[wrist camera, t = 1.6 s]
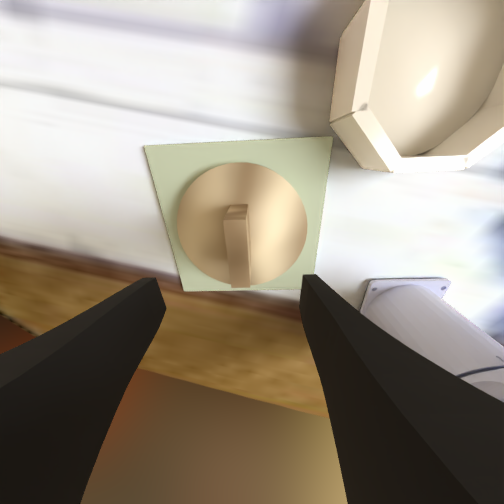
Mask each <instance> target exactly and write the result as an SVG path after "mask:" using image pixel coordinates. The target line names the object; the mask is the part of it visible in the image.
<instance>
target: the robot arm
mask: <svg viewBox="0 0 504 504" xmlns="http://www.w3.org/2000/svg"><path fill="white" fill-rule="evenodd" d="M450 284H451V281H449V280H448V279H445V278H441V279H387V280H372V281H371V282H370V283H369V285H368V288H367V291H366V294H365V298H364V301H363V304H362V307H361V310H360V312H359V311H357V310H356V309H355V308H354V307H353V306H351V305H350V304H349V303H348V302H347V301H345V300H344V299H343V298H342V297H341V296H340V295H338V294H337V293H336V292H335V291H334V290H333V289H332V288H331V287H329V286H328V285H327V284H326V283H325V282H324V281H323V280H322V279H321V278H319V277H318V276H317V275H316V274H303V277H302V286H301V295H300V304H299V308H300V313H301V318H302V323H303V327H304V330H305V333H306V337H307V340H308V343H309V346H310V349H311V352H312V355H313V358H314V361H315V364H316V367H317V370H318V373H319V377H320V380H321V384H322V387H323V391H324V395H325V400H326V404H327V408H328V413H329V417H330V421H331V426H332V430H333V435H334V439H335V444H336V448H337V453H338V458H339V463H340V468H341V473H342V477H343V482H344V487H345V492H346V497H347V502H348V504H504V347H503V346H502V345H501V344H499V343H498V342H497V341H495V340H494V339H493V338H492V337H490V336H489V335H488V334H486V333H485V332H484V331H483V330H481V329H480V328H479V327H477V326H476V325H475V324H473V323H472V322H471V321H470V320H468V319H467V318H466V317H464V316H463V315H462V314H461V313H459V312H458V311H457V310H455V309H454V308H453V307H452V306H450V305H449V304H448V303H446V302H445V301H444V300H443V299H442V298H443V296H444V294H445V293H446V291H447V289H448V287H449V286H450ZM372 288H373V289H372ZM165 311H166V305H165V302H164V300H163V297H162V294H161V291H160V288H159V286H158V283H157V280H156V278H142V279H140V280H138V281H136V282H135V283H133V284H131V285H129V286H127V287H126V288H124V289H122V290H121V291H119V292H117V293H116V294H114V295H112V296H110V297H109V298H107V299H105V300H104V301H102V302H100V303H99V304H97V305H95V306H94V307H92V308H90V309H88V310H86V311H85V312H83V313H81V314H79V315H77V316H76V317H74V318H72V319H70V320H69V321H67V322H65V323H63V324H61V325H59V326H58V327H56V328H54V329H52V330H50V331H48V332H46V333H44V334H42V335H40V336H38V337H36V338H34V339H32V340H30V341H28V342H26V343H24V344H22V345H20V346H18V347H15V348H13V349H11V350H9V351H7V352H4V353H2V354H0V504H80V502H81V500H82V497H83V494H84V491H85V488H86V485H87V483H88V480H89V477H90V475H91V472H92V469H93V467H94V465H95V462H96V459H97V457H98V454H99V451H100V449H101V446H102V444H103V441H104V439H105V437H106V434H107V431H108V429H109V427H110V424H111V422H112V420H113V417H114V415H115V412H116V410H117V408H118V406H119V404H120V401H121V399H122V397H123V395H124V392H125V390H126V388H127V386H128V384H129V382H130V380H131V378H132V376H133V374H134V372H135V371H136V369H137V367H138V365H139V363H140V362H141V360H142V358H143V356H144V354H145V353H146V351H147V349H148V347H149V345H150V344H151V342H152V340H153V338H154V336H155V334H156V333H157V331H158V329H159V327H160V324H161V322H162V319H163V317H164V314H165Z"/></svg>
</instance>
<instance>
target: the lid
mask: <svg viewBox="0 0 504 504" xmlns="http://www.w3.org/2000/svg"><path fill="white" fill-rule="evenodd" d="M307 225H308V224H307V215H306V211H305V208H304V205H303V203H302V200H301V198H300V197H299V195H298V193H297V192H296V190H295V189H294V188H293V187H292V186H291V184H290V183H289V182H288V181H286V180H285V179H284V178H283V177H282V176H280V175H279V174H278V173H276V172H275V171H273V170H271V169H269V168H267V167H264V166H261V165H258V164H253V163H247V162H236V163H228V164H224V165H221V166H217V167H215V168H213V169H210V170H208V171H207V172H205V173H204V174H202V175H200V176H199V177H198V178H197V179H196V180H195V181H194V182H193V183H192V184H191V185H190V186H189V188H188V189H187V190H186V192H185V194H184V195H183V197H182V200H181V202H180V205H179V209H178V214H177V231H178V236H179V239H180V243H181V245H182V247H183V249H184V251H185V253H186V255H187V256H188V258H189V259H190V260H191V261H192V263H193V264H194V265H195V266H196V267H197V268H198V269H199V270H201V271H202V272H203V273H205V274H206V275H208V276H209V277H211V278H213V279H215V280H217V281H220V282H223V283H227V284H231V288H250V286H251V285H258V284H262V283H265V282H268V281H271V280H273V279H275V278H277V277H279V276H280V275H282V274H283V273H284V272H286V271H287V270H288V269H289V268H290V267H291V266H292V265H293V264H294V263H295V262H296V260H297V259H298V257H299V256H300V254H301V252H302V250H303V248H304V245H305V241H306V237H307Z"/></svg>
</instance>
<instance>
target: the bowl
mask: <svg viewBox="0 0 504 504" xmlns="http://www.w3.org/2000/svg"><path fill="white" fill-rule="evenodd" d="M329 122H332V123H331V124H330V126H331V127H332V128H333V130H334V131H335V132H336V134H337V135H338V137H339V138H340V139H341V141H342V142H343V143H344V145H345V146H346V147H347V149H348V150H349V151H350V153H351V154H352V155H353V157H354V158H355V159H356V161H357V162H358V163H359V165H360V166H361V168H364V169H368V170H376V171H383V172H391V173H399V172H422V171H446V170H464V168H468V167H470V166H471V165H473V164H474V163H475V162H477V161H478V160H479V159H481V158H482V157H483V156H485V155H486V154H488V153H489V152H490V151H492V150H493V149H494V148H496V147H497V146H499V145H500V144H501V143H503V142H504V0H365V1H364V3H363V4H362V5H361V7H360V8H359V10H358V11H357V13H356V14H355V15H354V17H353V18H352V20H351V21H350V23H349V24H348V26H347V27H346V28H345V30H344V31H343V33H342V36H341V37H340V42H339V49H338V57H337V65H336V73H335V80H334V88H333V96H332V104H331V111H330V119H329ZM420 153H422V154H421V155H418V154H420Z"/></svg>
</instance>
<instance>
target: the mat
mask: <svg viewBox="0 0 504 504" xmlns="http://www.w3.org/2000/svg"><path fill="white" fill-rule="evenodd" d="M332 142H333V136H326V137H306V138H286V139H267V140H247V141H227V142H208V143H188V144H168V145H149V146H144V148H145V152H146V155H147V159H148V163H149V166H150V170H151V173H152V177H153V181H154V184H155V188H156V192H157V195H158V199H159V202H160V206H161V210H162V213H163V217H164V220H165V224H166V228H167V231H168V235H169V238H170V242H171V246H172V249H173V253H174V256H175V260H176V264H177V267H178V271H179V275H180V278H181V282H182V285H183V289H184V291H234V290H294V289H301V286H302V277H303V274H314V269H315V262H316V255H317V248H318V241H319V234H320V227H321V220H322V213H323V206H324V198H325V191H326V184H327V177H328V170H329V163H330V156H331V149H332ZM236 162H247V163H253V164H258V165H261V166H264V167H267V168H269V169H271V170H273V171H275V172H276V173H278V174H279V175H280V176H282V177H283V178H284V179H285V180H286V181H288V182H289V183H290V184H291V186H292V187H293V188H294V189H295V190H296V192H297V193H298V195H299V197H300V198H301V200H302V203H303V205H304V208H305V211H306V215H307V224H308V225H307V237H306V241H305V245H304V248H303V250H302V252H301V254H300V256H299V257H298V259H297V260H296V262H295V263H294V264H293V265H292V266H291V267H290V268H289V269H288V270H287V271H286V272H284V273H283V274H282V275H280V276H279V277H277V278H275V279H273V280H271V281H268V282H265V283H262V284H258V285H251V286H250V288H231V284H227V283H223V282H220V281H217V280H215V279H213V278H211V277H209V276H208V275H206V274H205V273H203V272H202V271H201V270H199V269H198V268H197V267H196V266H195V265H194V264H193V263H192V261H191V260H190V259H189V258H188V256H187V255H186V253H185V251H184V249H183V247H182V245H181V243H180V239H179V236H178V231H177V214H178V209H179V205H180V202H181V200H182V197H183V195H184V194H185V192H186V190H187V189H188V188H189V186H190V185H191V184H192V183H193V182H194V181H195V180H196V179H197V178H198V177H199V176H200V175H202V174H204V173H205V172H207V171H208V170H210V169H213V168H215V167H217V166H221V165H224V164H228V163H236Z"/></svg>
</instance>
